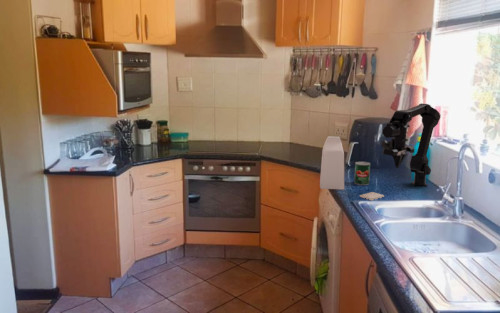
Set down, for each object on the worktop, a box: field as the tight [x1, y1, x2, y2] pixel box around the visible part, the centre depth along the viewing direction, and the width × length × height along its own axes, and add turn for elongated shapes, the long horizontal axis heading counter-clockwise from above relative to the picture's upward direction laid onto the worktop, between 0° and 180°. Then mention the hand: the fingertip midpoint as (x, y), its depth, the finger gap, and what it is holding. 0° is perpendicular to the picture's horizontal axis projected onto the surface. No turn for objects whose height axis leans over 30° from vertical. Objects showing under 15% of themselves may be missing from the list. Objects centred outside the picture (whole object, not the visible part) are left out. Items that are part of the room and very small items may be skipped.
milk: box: [319, 136, 345, 190], centre depth 229 cm, size 12×12×26 cm
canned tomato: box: [353, 161, 371, 186], centre depth 236 cm, size 8×8×11 cm
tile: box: [359, 191, 385, 201], centre depth 213 cm, size 2×7×9 cm
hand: (397, 167), depth 221 cm, fingers closed
